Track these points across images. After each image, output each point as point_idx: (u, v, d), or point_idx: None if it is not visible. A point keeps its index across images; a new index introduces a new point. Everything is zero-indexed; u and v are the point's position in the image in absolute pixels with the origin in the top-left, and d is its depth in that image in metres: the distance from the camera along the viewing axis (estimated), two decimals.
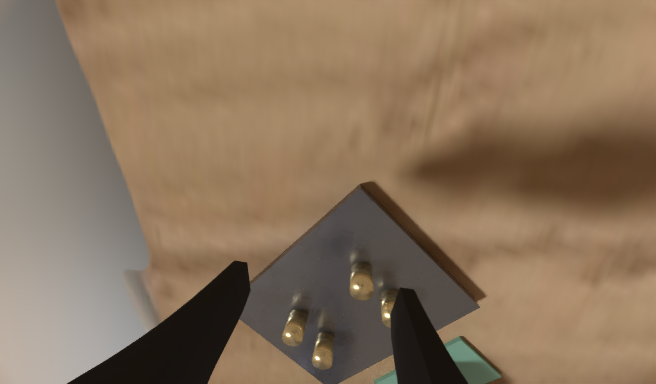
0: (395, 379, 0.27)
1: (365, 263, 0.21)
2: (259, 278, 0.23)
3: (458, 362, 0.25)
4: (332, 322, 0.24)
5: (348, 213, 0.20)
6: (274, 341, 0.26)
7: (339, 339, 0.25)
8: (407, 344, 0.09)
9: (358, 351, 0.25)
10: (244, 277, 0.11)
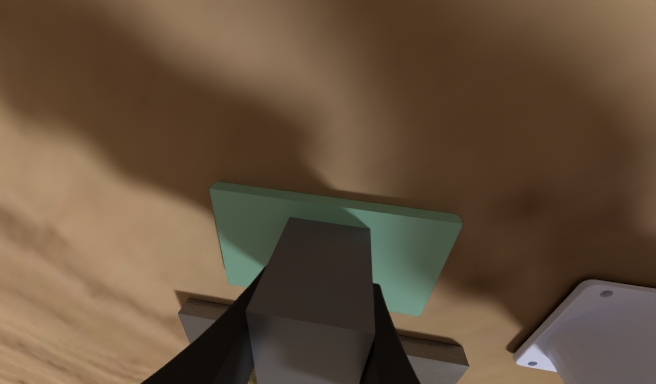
0: None
1: None
2: None
3: (258, 260, 0.13)
4: None
5: None
6: None
7: None
8: None
9: None
10: None
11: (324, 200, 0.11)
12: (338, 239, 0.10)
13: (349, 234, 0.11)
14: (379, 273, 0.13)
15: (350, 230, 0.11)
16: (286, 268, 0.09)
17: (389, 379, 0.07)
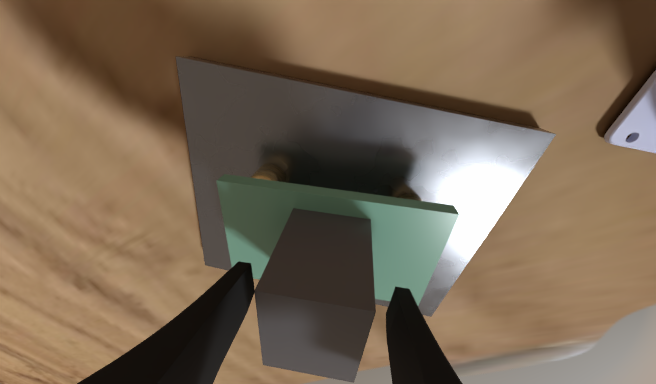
0: (378, 290, 0.14)
1: None
2: None
3: (262, 251, 0.14)
4: None
5: (230, 263, 0.20)
6: (460, 259, 0.16)
7: (394, 190, 0.14)
8: (401, 343, 0.09)
9: (401, 151, 0.13)
10: (248, 278, 0.11)
11: (326, 192, 0.12)
12: (340, 228, 0.11)
13: (350, 224, 0.11)
14: (379, 263, 0.13)
15: (351, 220, 0.11)
16: (291, 254, 0.09)
17: None
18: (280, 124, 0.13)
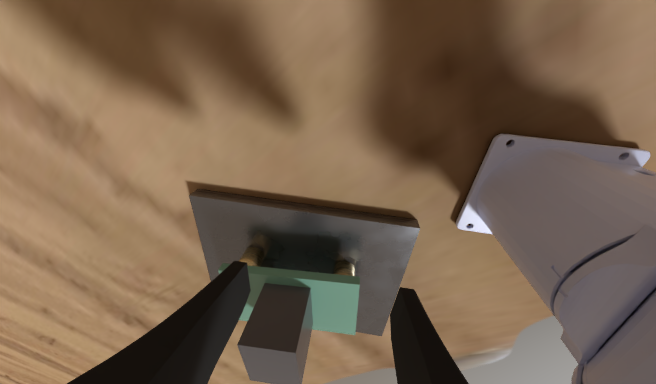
0: (327, 326, 0.22)
1: None
2: None
3: (250, 305, 0.22)
4: None
5: None
6: (389, 298, 0.24)
7: (333, 259, 0.22)
8: (407, 344, 0.09)
9: (331, 238, 0.21)
10: (244, 277, 0.11)
11: (283, 273, 0.19)
12: (290, 297, 0.19)
13: (297, 293, 0.19)
14: (323, 310, 0.21)
15: (298, 290, 0.19)
16: (258, 319, 0.17)
17: None
18: (255, 226, 0.21)
